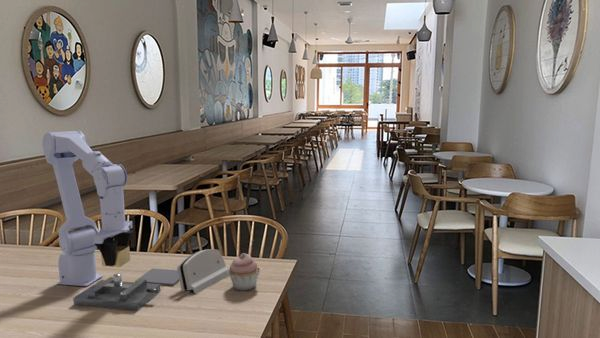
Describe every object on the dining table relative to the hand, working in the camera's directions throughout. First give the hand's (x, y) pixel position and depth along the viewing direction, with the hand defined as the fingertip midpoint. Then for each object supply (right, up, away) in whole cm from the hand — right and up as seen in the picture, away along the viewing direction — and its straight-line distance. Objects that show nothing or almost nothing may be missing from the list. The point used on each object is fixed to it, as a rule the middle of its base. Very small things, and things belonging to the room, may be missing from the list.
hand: (116, 261), depth 120 cm
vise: (+1, -10, +1) cm, 10 cm away
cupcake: (+33, -9, +9) cm, 35 cm away
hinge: (+21, -9, +13) cm, 26 cm away
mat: (+8, -8, +15) cm, 19 cm away
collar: (0, 0, 0) cm, 0 cm away
